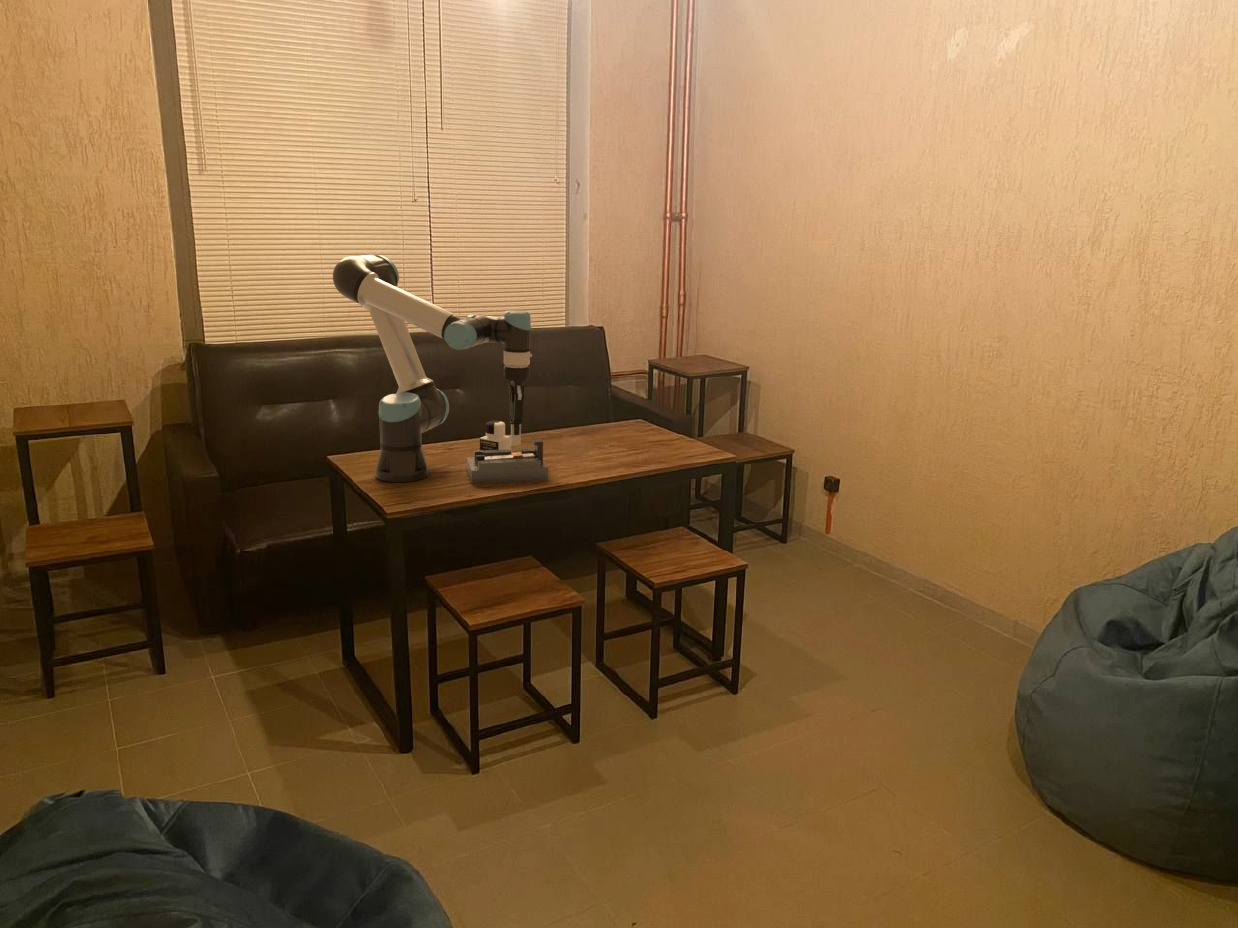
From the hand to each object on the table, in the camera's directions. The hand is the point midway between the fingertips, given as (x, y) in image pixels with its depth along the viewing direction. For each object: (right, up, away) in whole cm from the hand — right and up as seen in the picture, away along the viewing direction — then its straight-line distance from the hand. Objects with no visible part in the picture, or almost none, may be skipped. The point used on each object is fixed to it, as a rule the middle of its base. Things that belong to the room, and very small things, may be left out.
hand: (515, 444), depth 264 cm
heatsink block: (-3, -9, +2) cm, 10 cm away
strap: (-3, -5, 0) cm, 6 cm away
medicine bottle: (-8, -4, +18) cm, 20 cm away
